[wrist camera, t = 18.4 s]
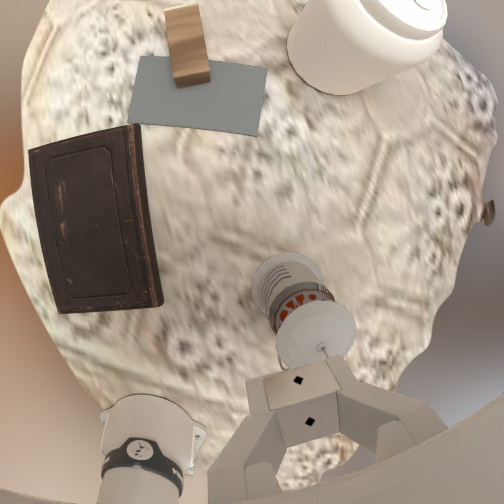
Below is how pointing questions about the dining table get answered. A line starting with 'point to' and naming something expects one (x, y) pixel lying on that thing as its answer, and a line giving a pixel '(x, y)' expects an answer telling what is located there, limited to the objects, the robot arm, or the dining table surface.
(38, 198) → the hardcover book
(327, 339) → the french press
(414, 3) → the white lidded jar
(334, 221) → the dining table surface
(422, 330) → the dining table surface
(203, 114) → the rubber mat
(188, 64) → the walnut block
